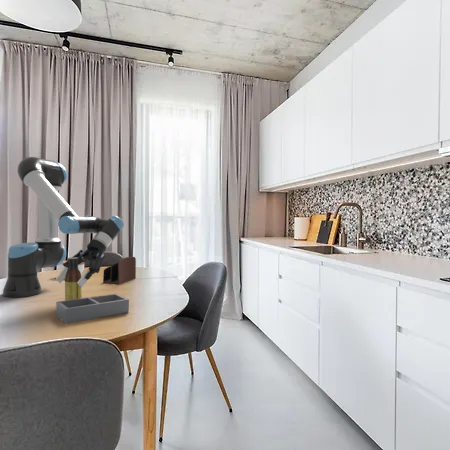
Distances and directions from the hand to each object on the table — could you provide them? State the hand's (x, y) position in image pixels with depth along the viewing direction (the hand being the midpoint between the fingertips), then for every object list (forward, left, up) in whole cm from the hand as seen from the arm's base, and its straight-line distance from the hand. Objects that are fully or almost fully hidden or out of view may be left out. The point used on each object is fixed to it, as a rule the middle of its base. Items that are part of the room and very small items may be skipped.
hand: (68, 283), depth 130 cm
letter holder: (-40, +40, -10) cm, 58 cm away
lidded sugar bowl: (-67, +22, -10) cm, 71 cm away
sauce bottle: (-1, +2, -10) cm, 10 cm away
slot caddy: (+15, +5, -10) cm, 19 cm away
